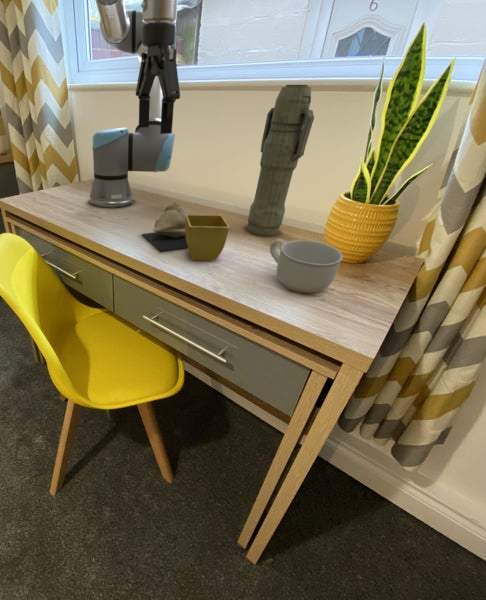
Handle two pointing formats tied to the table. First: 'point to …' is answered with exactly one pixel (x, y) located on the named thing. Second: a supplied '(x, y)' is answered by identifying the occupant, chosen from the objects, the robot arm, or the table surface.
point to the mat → (165, 242)
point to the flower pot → (205, 235)
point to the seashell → (172, 221)
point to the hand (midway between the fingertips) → (154, 130)
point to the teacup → (306, 264)
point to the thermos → (280, 157)
